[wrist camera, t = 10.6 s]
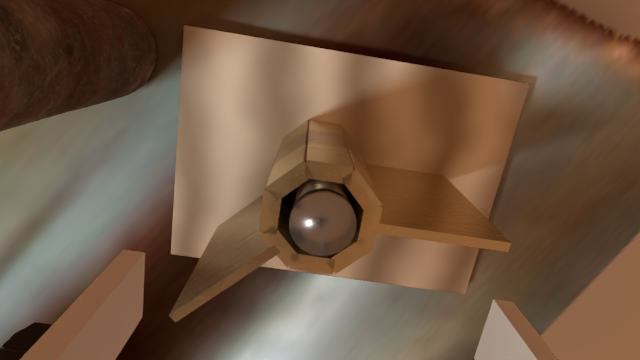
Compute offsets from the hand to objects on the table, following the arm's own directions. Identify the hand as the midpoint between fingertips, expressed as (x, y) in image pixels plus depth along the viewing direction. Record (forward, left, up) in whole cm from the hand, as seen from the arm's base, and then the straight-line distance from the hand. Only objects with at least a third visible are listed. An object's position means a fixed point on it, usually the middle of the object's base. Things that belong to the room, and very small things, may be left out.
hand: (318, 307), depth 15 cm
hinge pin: (0, 0, -21) cm, 21 cm away
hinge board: (+2, -1, -22) cm, 22 cm away
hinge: (+2, -2, -21) cm, 21 cm away
